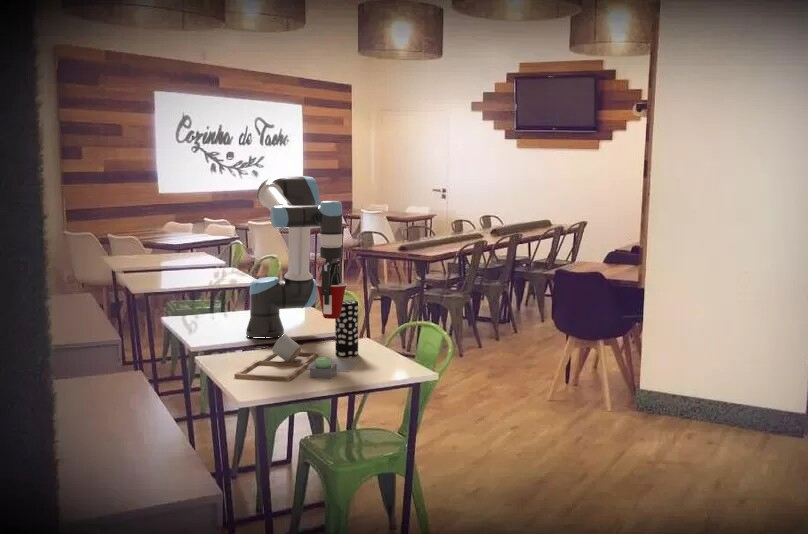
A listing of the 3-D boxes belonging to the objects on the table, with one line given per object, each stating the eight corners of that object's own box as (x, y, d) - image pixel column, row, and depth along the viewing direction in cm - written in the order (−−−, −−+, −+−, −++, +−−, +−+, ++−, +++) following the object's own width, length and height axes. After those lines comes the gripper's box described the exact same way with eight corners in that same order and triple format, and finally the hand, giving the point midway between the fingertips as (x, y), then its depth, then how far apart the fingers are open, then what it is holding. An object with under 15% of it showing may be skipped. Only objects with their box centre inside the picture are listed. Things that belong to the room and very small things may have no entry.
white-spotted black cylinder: (332, 354, 290) (332, 301, 288) (354, 352, 293) (354, 299, 291) (339, 359, 283) (339, 304, 280) (361, 357, 286) (361, 303, 283)
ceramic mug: (287, 368, 276) (293, 354, 272) (269, 354, 278) (274, 340, 273) (304, 351, 285) (310, 338, 280) (286, 339, 286) (291, 325, 281)
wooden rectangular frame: (272, 354, 290) (272, 350, 289) (321, 357, 286) (321, 353, 286) (234, 378, 256) (234, 374, 256) (289, 382, 253) (289, 377, 253)
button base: (316, 373, 264) (316, 363, 263) (336, 374, 263) (336, 364, 262) (309, 378, 257) (309, 368, 257) (330, 379, 256) (330, 369, 255)
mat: (317, 359, 283) (317, 358, 283) (360, 361, 280) (360, 360, 280) (303, 370, 267) (303, 369, 267) (348, 373, 264) (348, 371, 264)
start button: (318, 363, 262) (318, 356, 262) (332, 364, 261) (332, 357, 261) (313, 367, 257) (313, 360, 257) (328, 368, 256) (328, 361, 256)
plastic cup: (346, 314, 277) (346, 280, 276) (348, 320, 267) (347, 285, 265) (316, 314, 276) (315, 280, 275) (315, 320, 266) (315, 285, 264)
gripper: (329, 242, 279) (330, 305, 282) (310, 249, 258) (311, 316, 261) (350, 243, 278) (350, 306, 281) (332, 250, 257) (333, 317, 260)
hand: (331, 311), depth 271 cm, fingers closed on plastic cup, 9 cm apart
